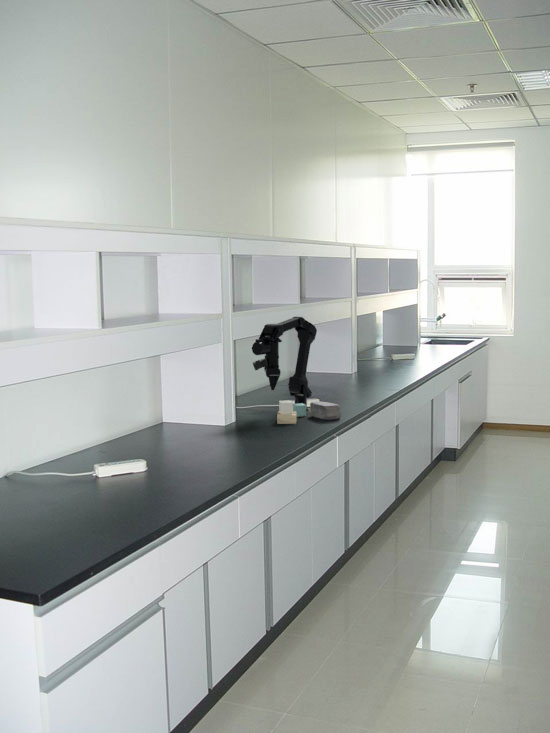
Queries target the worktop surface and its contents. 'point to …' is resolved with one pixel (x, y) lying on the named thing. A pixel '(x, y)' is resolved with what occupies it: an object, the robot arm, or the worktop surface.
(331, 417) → the decorative stone
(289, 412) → the cream cube
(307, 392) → the robot arm
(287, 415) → the maple block
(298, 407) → the teal cube
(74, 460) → the worktop surface
